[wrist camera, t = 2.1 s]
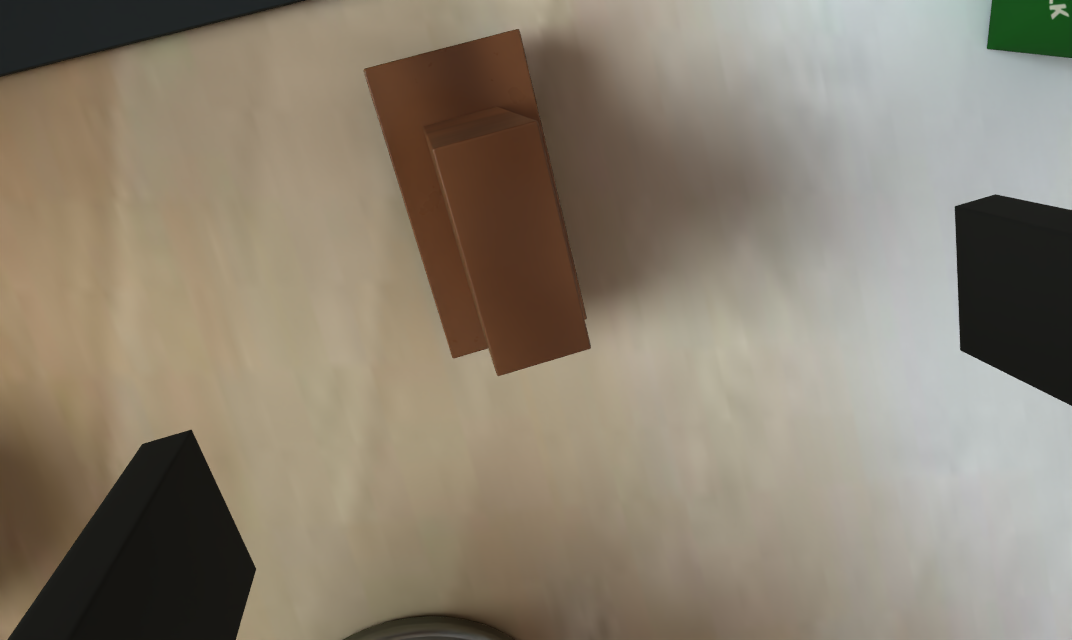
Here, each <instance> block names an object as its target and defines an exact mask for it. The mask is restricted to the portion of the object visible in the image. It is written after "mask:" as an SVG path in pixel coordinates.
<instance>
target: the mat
mask: <svg viewBox="0 0 1072 640" xmlns="http://www.w3.org/2000/svg"><path fill="white" fill-rule="evenodd" d="M301 1H305V0H0V77H1V76H5V75H9V74H13V73H17V72H21V71H25V70H29V69H33V68H37V67H41V66H45V65H49V64H53V63H57V62H61V61H65V60H69V59H73V58H77V57H81V56H85V55H89V54H93V53H97V52H101V51H105V50H109V49H113V48H117V47H121V46H125V45H129V44H133V43H137V42H141V41H145V40H149V39H153V38H157V37H161V36H165V35H169V34H173V33H177V32H181V31H185V30H189V29H193V28H197V27H201V26H205V25H209V24H213V23H217V22H221V21H225V20H229V19H233V18H237V17H241V16H245V15H249V14H253V13H257V12H261V11H265V10H269V9H273V8H277V7H281V6H285V5H289V4H293V3H297V2H301Z"/></svg>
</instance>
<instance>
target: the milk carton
mask: <svg viewBox="0 0 1072 640" xmlns="http://www.w3.org/2000/svg"><path fill="white" fill-rule="evenodd" d="M987 49H993V50H1003V51H1012V52H1021V53H1030V54H1039V55H1048V56H1057V57H1066V58H1072V0H992V7H991V16H990V25H989V35H988V44H987Z"/></svg>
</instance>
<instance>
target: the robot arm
mask: <svg viewBox="0 0 1072 640" xmlns="http://www.w3.org/2000/svg"><path fill="white" fill-rule="evenodd" d="M955 222H956V248H957V274H958V300H959V326H960V350H961V351H963V352H965V353H967V354H969V355H971V356H973V357H975V358H977V359H979V360H981V361H983V362H985V363H987V364H989V365H991V366H993V367H995V368H997V369H999V370H1001V371H1003V372H1005V373H1007V374H1009V375H1011V376H1013V377H1015V378H1017V379H1019V380H1021V381H1023V382H1025V383H1027V384H1029V385H1031V386H1033V387H1035V388H1037V389H1039V390H1041V391H1043V392H1045V393H1047V394H1049V395H1051V396H1053V397H1055V398H1057V399H1059V400H1061V401H1063V402H1065V403H1067V404H1069V405H1071V406H1072V210H1068V209H1063V208H1058V207H1053V206H1049V205H1044V204H1039V203H1034V202H1029V201H1024V200H1020V199H1015V198H1010V197H1005V196H1000V195H992V196H989V197H985V198H982V199H978V200H975V201H971V202H968V203H965V204H961V205H958V206H955ZM255 571H256V568H255V566H254V563H253V561H252V559H251V557H250V555H249V553H248V550H247V548H246V546H245V544H244V542H243V540H242V538H241V535H240V533H239V531H238V529H237V527H236V525H235V522H234V520H233V518H232V516H231V514H230V512H229V509H228V507H227V505H226V503H225V501H224V499H223V497H222V494H221V492H220V490H219V488H218V486H217V484H216V481H215V479H214V477H213V475H212V473H211V471H210V469H209V466H208V464H207V462H206V460H205V458H204V456H203V453H202V451H201V449H200V447H199V445H198V443H197V440H196V438H195V436H194V434H193V432H192V430H189V431H185V432H182V433H178V434H175V435H172V436H168V437H165V438H161V439H158V440H154V441H151V442H148V443H144V444H142V445H141V447H140V448H139V450H138V451H137V453H136V454H135V456H134V457H133V459H132V460H131V461H130V463H129V464H128V466H127V467H126V469H125V470H124V472H123V473H122V474H121V476H120V477H119V479H118V480H117V482H116V483H115V485H114V486H113V488H112V489H111V490H110V492H109V493H108V495H107V496H106V498H105V499H104V501H103V502H102V503H101V505H100V506H99V508H98V509H97V511H96V512H95V514H94V515H93V517H92V518H91V519H90V521H89V522H88V524H87V525H86V527H85V528H84V530H83V531H82V532H81V534H80V535H79V537H78V538H77V540H76V541H75V543H74V544H73V546H72V547H71V548H70V550H69V551H68V553H67V554H66V556H65V557H64V559H63V560H62V561H61V563H60V564H59V566H58V567H57V569H56V570H55V572H54V573H53V575H52V576H51V577H50V579H49V580H48V582H47V583H46V585H45V586H44V588H43V589H42V590H41V592H40V593H39V595H38V596H37V598H36V599H35V601H34V602H33V604H32V605H31V606H30V608H29V609H28V611H27V612H26V614H25V615H24V617H23V618H22V619H21V621H20V622H19V624H18V625H17V627H16V628H15V630H14V631H13V633H12V634H11V635H10V637H9V638H8V640H236V637H237V633H238V630H239V626H240V623H241V619H242V616H243V612H244V609H245V605H246V602H247V598H248V595H249V592H250V588H251V585H252V581H253V578H254V574H255ZM344 640H514V639H513V638H511V637H510V636H508V635H506V634H504V633H503V632H501V631H499V630H496V629H494V628H492V627H490V626H487V625H484V624H481V623H478V622H474V621H470V620H466V619H459V618H453V617H439V616H432V617H414V618H406V619H400V620H395V621H391V622H387V623H383V624H379V625H376V626H373V627H370V628H367V629H365V630H363V631H360V632H358V633H356V634H353V635H351V636H350V637H348V638H346V639H344Z"/></svg>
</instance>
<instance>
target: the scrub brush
mask: <svg viewBox="0 0 1072 640" xmlns="http://www.w3.org/2000/svg"><path fill="white" fill-rule="evenodd" d="M364 74H365V77H366V80H367V84H368V87H369V90H370V93H371V96H372V100H373V103H374V106H375V109H376V113H377V116H378V119H379V122H380V125H381V129H382V132H383V135H384V138H385V142H386V145H387V148H388V151H389V155H390V158H391V161H392V164H393V167H394V171H395V174H396V177H397V180H398V184H399V187H400V190H401V193H402V196H403V200H404V203H405V206H406V209H407V213H408V216H409V219H410V222H411V225H412V229H413V232H414V235H415V238H416V242H417V245H418V248H419V251H420V254H421V258H422V261H423V264H424V267H425V271H426V274H427V277H428V280H429V284H430V287H431V290H432V293H433V296H434V300H435V303H436V306H437V309H438V313H439V316H440V319H441V322H442V325H443V329H444V332H445V335H446V338H447V342H448V345H449V348H450V351H451V354H452V357H453V358H457V357H460V356H464V355H467V354H470V353H474V352H477V351H480V350H484V349H487V348H488V349H489V352H490V355H491V358H492V361H493V364H494V367H495V370H496V373H497V375H498V376H500V375H504V374H507V373H510V372H514V371H517V370H520V369H524V368H527V367H530V366H534V365H537V364H540V363H544V362H547V361H551V360H554V359H557V358H561V357H564V356H567V355H571V354H574V353H577V352H581V351H584V350H587V349H590V348H591V345H590V341H589V337H588V332H587V328H586V324H585V319H587V317H586V312H585V308H584V304H583V300H582V295H581V291H580V287H579V283H578V278H577V274H576V270H575V265H574V261H573V257H572V253H571V248H570V244H569V240H568V236H567V231H566V227H565V223H564V218H563V214H562V210H561V206H560V201H559V197H558V193H557V189H556V184H555V180H554V176H553V172H552V167H551V163H550V159H549V154H548V150H547V146H546V142H545V137H544V133H543V129H542V125H541V120H540V116H539V112H538V107H537V103H536V99H535V95H534V90H533V86H532V82H531V78H530V73H529V69H528V65H527V60H526V56H525V52H524V48H523V43H522V39H521V35H520V31H519V29H516V30H512V31H508V32H504V33H500V34H497V35H493V36H489V37H485V38H481V39H477V40H473V41H470V42H466V43H462V44H458V45H454V46H450V47H446V48H443V49H439V50H435V51H431V52H427V53H423V54H419V55H416V56H412V57H408V58H404V59H400V60H396V61H392V62H389V63H385V64H381V65H377V66H373V67H369V68H365V69H364Z"/></svg>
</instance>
